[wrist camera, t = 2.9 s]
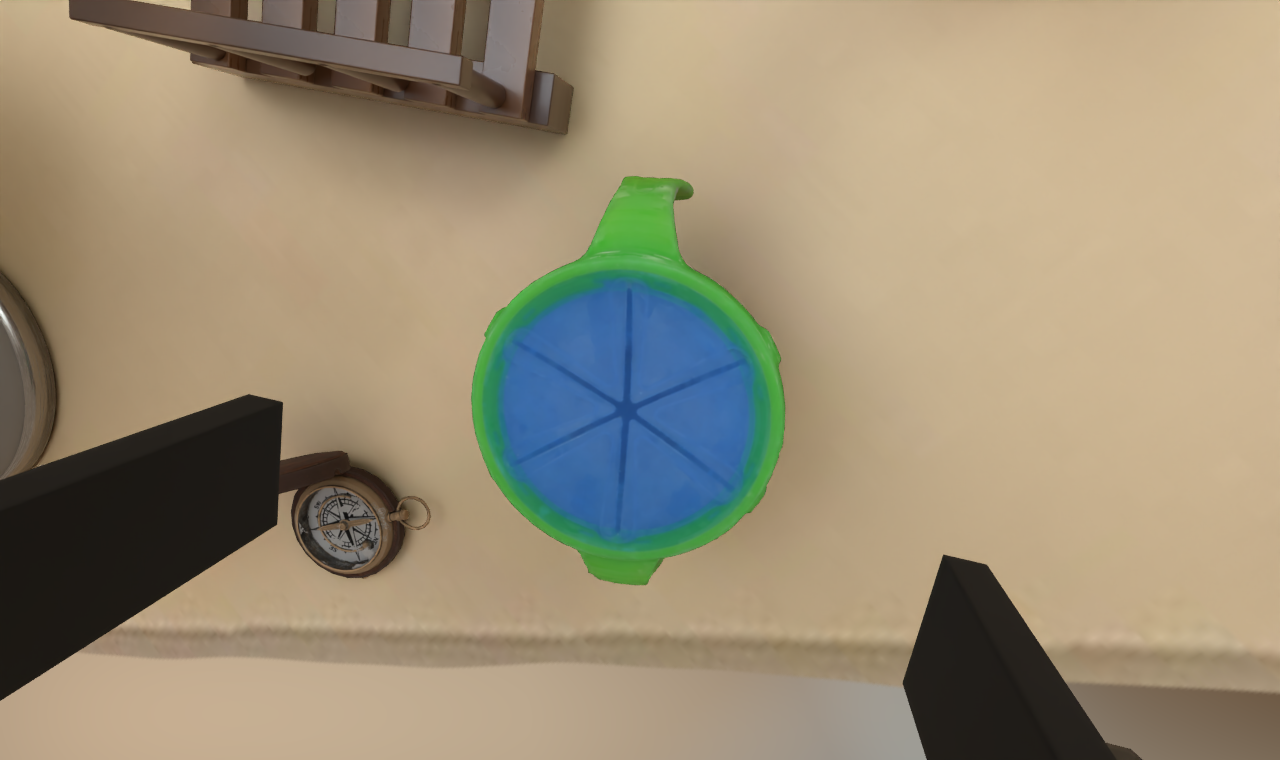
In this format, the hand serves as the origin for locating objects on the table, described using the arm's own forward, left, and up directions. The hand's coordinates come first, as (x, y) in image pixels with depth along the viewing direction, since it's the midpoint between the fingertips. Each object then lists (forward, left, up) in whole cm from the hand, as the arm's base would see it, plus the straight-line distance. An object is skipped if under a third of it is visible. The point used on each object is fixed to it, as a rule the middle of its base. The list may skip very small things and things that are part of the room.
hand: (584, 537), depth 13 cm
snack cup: (-1, 0, -20) cm, 20 cm away
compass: (-15, -11, -20) cm, 27 cm away
